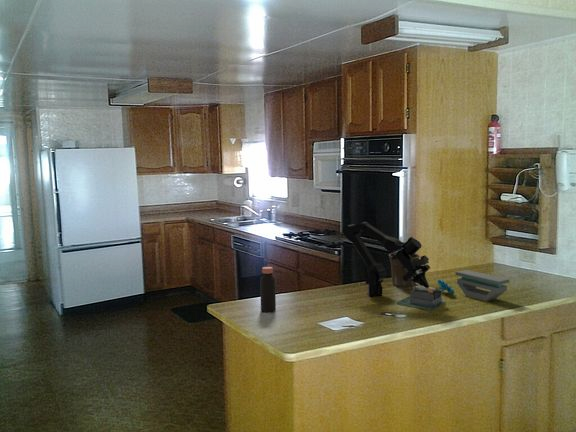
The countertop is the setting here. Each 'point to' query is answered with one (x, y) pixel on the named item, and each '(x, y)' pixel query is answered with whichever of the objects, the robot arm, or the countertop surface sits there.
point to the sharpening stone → (481, 285)
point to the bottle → (267, 290)
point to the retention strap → (425, 288)
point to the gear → (444, 287)
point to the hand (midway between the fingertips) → (428, 287)
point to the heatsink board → (423, 299)
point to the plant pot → (400, 272)
